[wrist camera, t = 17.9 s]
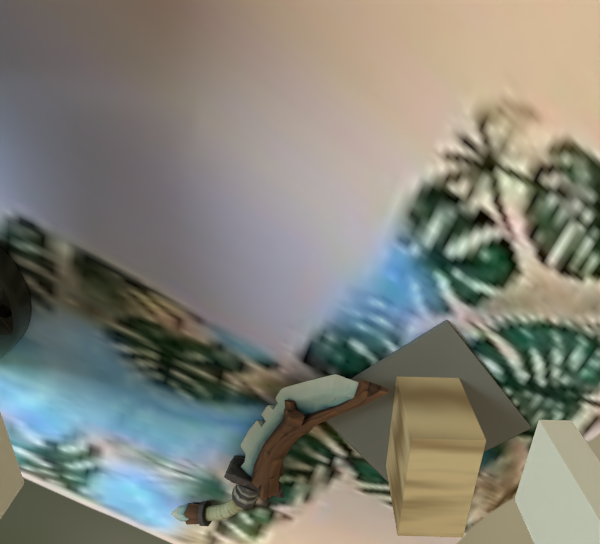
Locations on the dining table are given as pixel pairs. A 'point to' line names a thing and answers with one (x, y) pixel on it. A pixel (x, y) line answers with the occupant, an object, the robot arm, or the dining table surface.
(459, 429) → the beech block
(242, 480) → the decorative knife
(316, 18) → the dining table surface
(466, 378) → the charcoal mat
